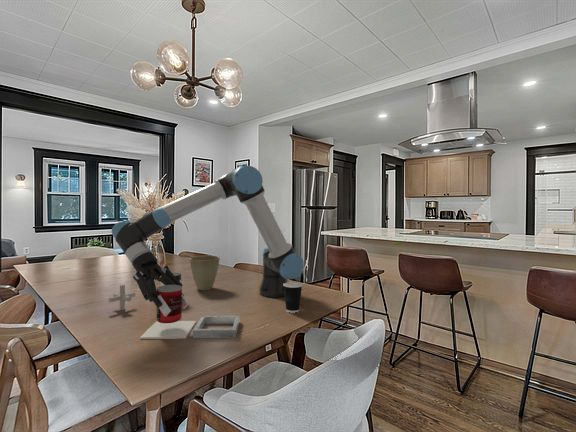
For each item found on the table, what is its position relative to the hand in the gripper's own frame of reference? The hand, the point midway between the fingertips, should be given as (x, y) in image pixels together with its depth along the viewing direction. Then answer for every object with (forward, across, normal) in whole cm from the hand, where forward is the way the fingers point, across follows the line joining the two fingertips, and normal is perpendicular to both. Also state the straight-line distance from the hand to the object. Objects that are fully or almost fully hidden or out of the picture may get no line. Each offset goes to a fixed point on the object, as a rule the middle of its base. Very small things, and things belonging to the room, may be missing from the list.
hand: (177, 309), depth 102 cm
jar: (-13, -26, -24) cm, 38 cm away
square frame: (+13, -7, +3) cm, 15 cm away
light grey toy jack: (-20, -9, -31) cm, 38 cm away
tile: (+3, 0, -8) cm, 8 cm away
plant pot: (-14, -50, -25) cm, 57 cm away
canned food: (0, 0, -5) cm, 5 cm away
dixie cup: (+24, -36, +14) cm, 46 cm away
